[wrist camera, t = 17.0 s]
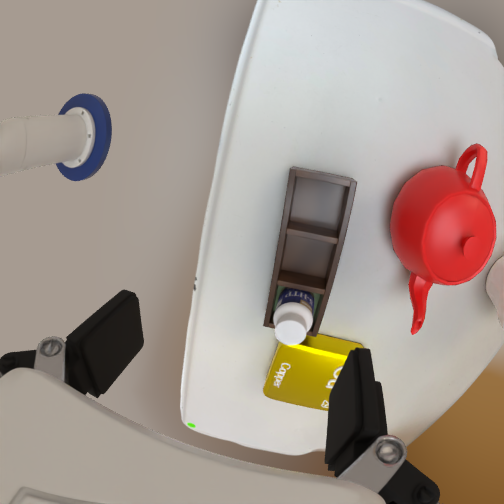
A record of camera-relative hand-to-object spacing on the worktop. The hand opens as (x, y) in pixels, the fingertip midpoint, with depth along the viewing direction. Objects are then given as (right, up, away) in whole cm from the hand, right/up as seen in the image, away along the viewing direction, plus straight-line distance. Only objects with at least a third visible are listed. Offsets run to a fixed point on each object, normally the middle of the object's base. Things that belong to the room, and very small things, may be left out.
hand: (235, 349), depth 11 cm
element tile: (+12, -16, +35) cm, 40 cm away
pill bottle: (+7, -3, +30) cm, 31 cm away
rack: (+9, +4, +28) cm, 29 cm away
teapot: (+26, +8, +22) cm, 35 cm away
